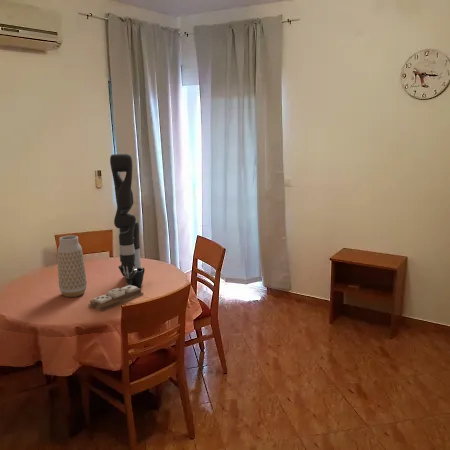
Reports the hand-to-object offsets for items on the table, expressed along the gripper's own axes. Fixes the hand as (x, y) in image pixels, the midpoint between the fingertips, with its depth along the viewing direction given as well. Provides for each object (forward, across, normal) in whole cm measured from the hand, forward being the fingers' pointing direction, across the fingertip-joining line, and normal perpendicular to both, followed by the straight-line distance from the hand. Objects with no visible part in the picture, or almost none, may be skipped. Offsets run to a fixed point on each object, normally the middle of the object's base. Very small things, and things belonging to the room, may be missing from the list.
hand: (129, 284), depth 219 cm
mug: (+6, -7, +12) cm, 15 cm away
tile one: (+4, 0, 0) cm, 4 cm away
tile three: (+4, 0, -17) cm, 18 cm away
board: (+6, 0, -9) cm, 10 cm away
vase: (+6, -26, -16) cm, 31 cm away
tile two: (+3, 0, -9) cm, 9 cm away
